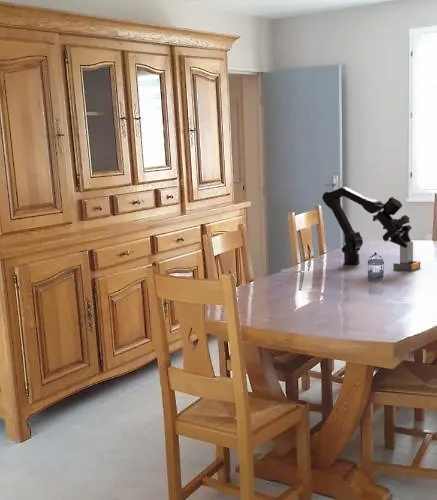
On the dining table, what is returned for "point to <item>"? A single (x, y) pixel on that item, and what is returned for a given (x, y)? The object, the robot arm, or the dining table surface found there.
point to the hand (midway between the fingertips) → (409, 246)
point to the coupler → (406, 266)
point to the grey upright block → (406, 253)
